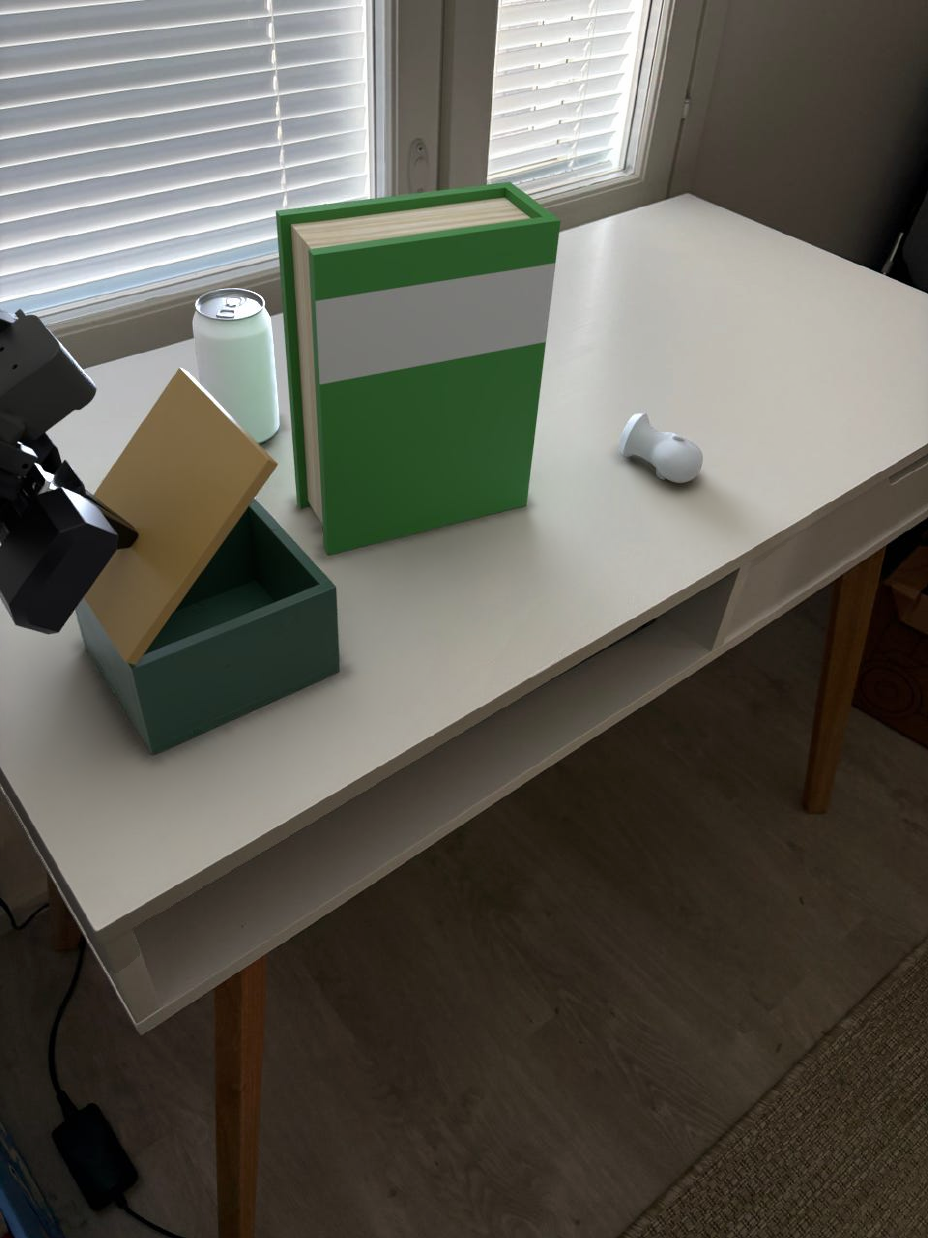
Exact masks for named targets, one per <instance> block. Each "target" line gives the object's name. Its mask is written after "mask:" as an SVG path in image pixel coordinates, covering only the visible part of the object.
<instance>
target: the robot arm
mask: <svg viewBox="0 0 928 1238" xmlns="http://www.w3.org/2000/svg"><path fill="white" fill-rule="evenodd" d="M14 315H15V316H16V317H17V318H15V316H13V314H11V313H9V312H8V311H6V310H3V309H0V601H1V603H2V604H3V606H4V608H5V610H6V611H7V613H8V615H9V617H10V618H11V620H12V622H13V624H14V626H17V627H20V628H24V629H28V630H31V631H34V632H38V633H42V634H44V635H45V634H46V635H53V634H57V633H60V632H61V630H62V629H63V627H64V626H65V625H66V623H67V622H68V620H69V619H70V618H71V616H72V615H73V613H75V609H76V607H77V606H78V605H79V603H80V602H81V600H82V599H83V597H84V596H85V595H86V593H87V592H88V590H89V589H90V588H91V586H92V585H93V583H94V582H95V580H96V579H97V578H98V576H99V575H100V573H101V572H102V571H103V569H104V568H105V566H106V565H107V563H108V562H109V561H110V559H111V558H112V556H113V555H114V553H115V552H116V550H119V549H126V548H130V547H131V546H132V545H133V543H134V542H135V541H136V539H137V538H138V536H139V534H138V532H137V531H136V530H135V528H134V527H133V526H132V525H131V524H130V523H128V522H127V521H126V520H124V519H123V518H122V517H121V516H119V515H118V514H117V513H115V512H114V511H113V510H112V509H110V508H109V507H108V506H106V505H105V504H104V503H103V502H101V501H100V500H99V499H97V498H96V497H95V496H94V494H92V493H91V492H90V491H89V490H87V489H86V486H85V484H84V482H83V480H82V479H81V477H79V475H78V473H77V472H76V471H75V470H74V468H73V467H72V466H71V464H70V463H69V461H68V460H67V459H66V458H65V459H63V460H62V459H61V454H60V451H59V448H58V446H57V445H56V444H55V443H54V441H53V440H52V438H51V437H50V436H49V434H48V433H47V432H48V431H50V429H52V428H54V426H56V425H57V424H58V423H60V422H61V421H62V420H64V419H65V418H66V417H67V416H69V415H70V414H71V413H73V412H75V411H81V410H83V409H84V408H85V407H87V406H88V405H89V404H90V403H91V402H92V401H93V400H94V398H95V396H96V394H97V385H96V383H95V382H94V381H93V380H92V378H91V377H90V376H89V375H88V374H87V372H86V371H84V369H83V368H82V367H81V366H80V364H79V363H78V362H77V361H76V359H74V357H73V356H72V355H71V354H70V352H69V351H68V350H67V349H66V348H65V347H64V346H63V344H62V343H61V342H60V340H58V339H57V337H56V336H55V335H54V334H53V332H52V331H51V330H50V329H49V328H48V327H47V326H46V324H45V323H44V322H43V321H42V320H41V319H40V318H39V317H38V316H37V315H36V314H26V313H25V312H24V311H23V310H22V308H19V309H17V310H16V311H15V312H14Z"/></svg>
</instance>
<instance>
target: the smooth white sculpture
mask: <svg viewBox="0 0 928 1238" xmlns="http://www.w3.org/2000/svg"><path fill="white" fill-rule="evenodd" d="M618 444H619V445H618V447H619V450H620V451H621V454H622V456H623V457H624V458H626V457H630V456H631V457H632V456H638V457H640V458H642V459H644V460H646V461H647V462H648V463H650V464H651V465H652V466H654V467H655V474H656V476H657V477H658V479H661V480H663V481H664V480H668V481H670V482H673V483H677V484H683V483H688V482H690V481H692V480H693V479H696V477H697V476H698V474H699V473H700V472H701V470H702V467H703V462H704V455H703V452H702V450H701V448H700V447H699V446H698V445H697V444H696V443H695V442H693V441H692V440H690V439H689V438H687V436H684V435H682V434H680V433H676V432H675V433H674V432H670V431H663V432H662V431H659V430H657V429H656V428H654V427H653V425H652V424H651V423H650V419H649V416H648V413H647V412H646V413H645V412H643V413H634V414H633V415H632V416H631V417H630V419H628V422H627V423H626V424H625V426H624V429H623V431H622V432H621V436H620V439H619V443H618Z"/></svg>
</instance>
